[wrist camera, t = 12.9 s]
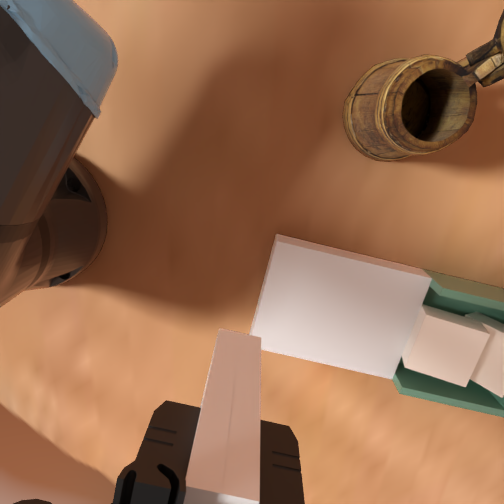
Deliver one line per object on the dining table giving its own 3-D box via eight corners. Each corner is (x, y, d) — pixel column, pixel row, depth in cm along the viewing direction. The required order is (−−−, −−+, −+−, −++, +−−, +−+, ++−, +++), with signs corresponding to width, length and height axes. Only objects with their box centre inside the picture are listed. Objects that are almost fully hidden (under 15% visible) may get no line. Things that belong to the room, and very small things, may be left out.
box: (384, 364, 48) (399, 393, 42) (421, 268, 44) (442, 287, 39) (483, 386, 48) (510, 418, 43) (527, 294, 45) (562, 316, 39)
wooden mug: (497, 88, 39) (684, 57, 22) (376, 178, 41) (456, 215, 24) (447, 5, 37) (609, -102, 20) (324, 105, 40) (371, 89, 22)
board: (249, 333, 47) (248, 346, 44) (276, 233, 43) (276, 241, 40) (384, 364, 48) (392, 379, 45) (421, 268, 44) (432, 278, 41)
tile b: (502, 398, 40) (512, 390, 42) (528, 344, 39) (537, 339, 41) (444, 363, 44) (455, 358, 46) (465, 314, 43) (476, 311, 45)
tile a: (400, 353, 44) (404, 367, 41) (420, 303, 43) (425, 314, 40) (457, 371, 43) (465, 387, 41) (480, 321, 42) (490, 334, 39)
